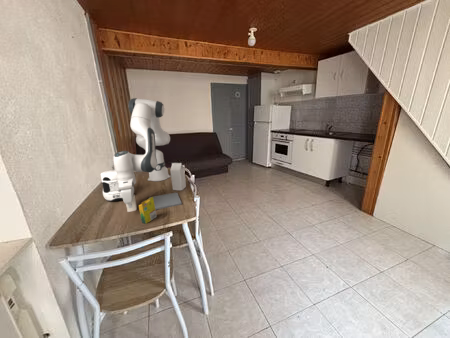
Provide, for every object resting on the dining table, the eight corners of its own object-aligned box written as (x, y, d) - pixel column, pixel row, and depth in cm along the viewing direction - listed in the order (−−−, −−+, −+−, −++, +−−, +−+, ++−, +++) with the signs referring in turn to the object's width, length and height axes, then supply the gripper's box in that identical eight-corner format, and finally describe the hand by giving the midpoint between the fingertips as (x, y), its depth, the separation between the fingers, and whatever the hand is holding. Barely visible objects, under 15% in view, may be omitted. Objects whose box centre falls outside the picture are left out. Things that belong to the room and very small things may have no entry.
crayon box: (152, 215, 100) (149, 195, 96) (157, 216, 98) (153, 196, 95) (141, 223, 93) (137, 201, 90) (145, 224, 92) (141, 202, 89)
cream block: (128, 208, 109) (125, 195, 107) (136, 206, 111) (134, 194, 108) (127, 212, 105) (124, 198, 103) (136, 210, 107) (133, 197, 104)
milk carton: (182, 190, 132) (179, 164, 127) (172, 190, 134) (169, 164, 128) (186, 186, 139) (183, 161, 134) (177, 186, 140) (174, 161, 135)
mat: (148, 198, 121) (148, 197, 120) (177, 193, 127) (177, 192, 127) (149, 211, 105) (148, 209, 104) (181, 204, 111) (181, 202, 111)
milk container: (124, 190, 137) (119, 167, 132) (139, 195, 128) (134, 169, 123) (99, 200, 123) (92, 173, 118) (114, 205, 114) (107, 177, 109)
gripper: (122, 176, 111) (126, 198, 115) (117, 188, 93) (123, 213, 97) (134, 175, 113) (138, 196, 117) (131, 185, 95) (136, 210, 99)
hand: (131, 204), depth 107 cm, fingers open, 8 cm apart
